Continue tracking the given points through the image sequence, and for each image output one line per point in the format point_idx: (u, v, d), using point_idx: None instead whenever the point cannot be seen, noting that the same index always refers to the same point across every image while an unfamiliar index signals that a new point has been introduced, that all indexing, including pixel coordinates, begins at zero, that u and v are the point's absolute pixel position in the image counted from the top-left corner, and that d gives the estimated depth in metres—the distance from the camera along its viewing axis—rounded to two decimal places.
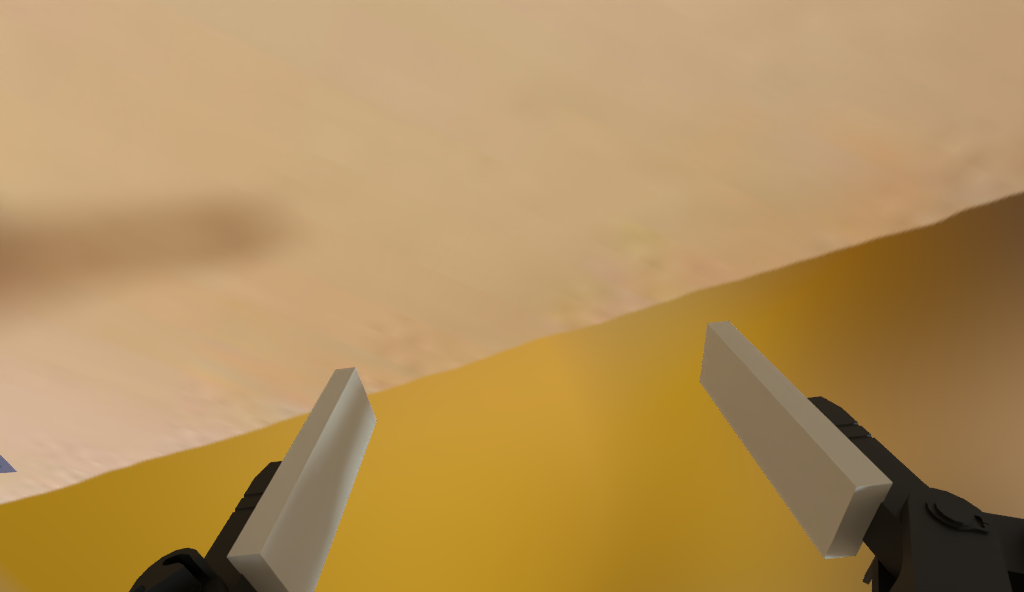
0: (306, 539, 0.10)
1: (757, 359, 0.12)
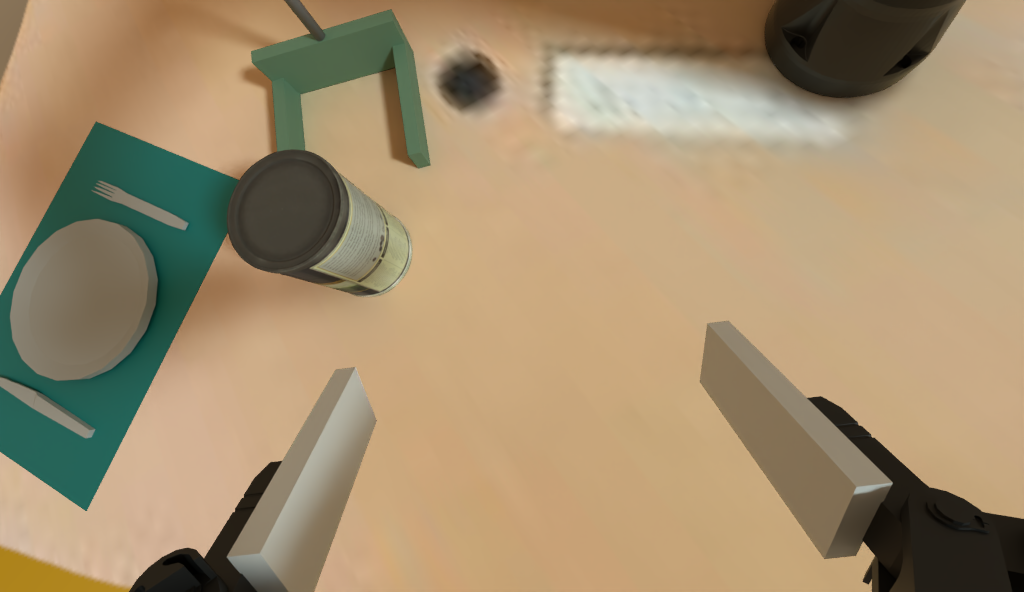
0: (306, 539, 0.10)
1: (757, 359, 0.12)
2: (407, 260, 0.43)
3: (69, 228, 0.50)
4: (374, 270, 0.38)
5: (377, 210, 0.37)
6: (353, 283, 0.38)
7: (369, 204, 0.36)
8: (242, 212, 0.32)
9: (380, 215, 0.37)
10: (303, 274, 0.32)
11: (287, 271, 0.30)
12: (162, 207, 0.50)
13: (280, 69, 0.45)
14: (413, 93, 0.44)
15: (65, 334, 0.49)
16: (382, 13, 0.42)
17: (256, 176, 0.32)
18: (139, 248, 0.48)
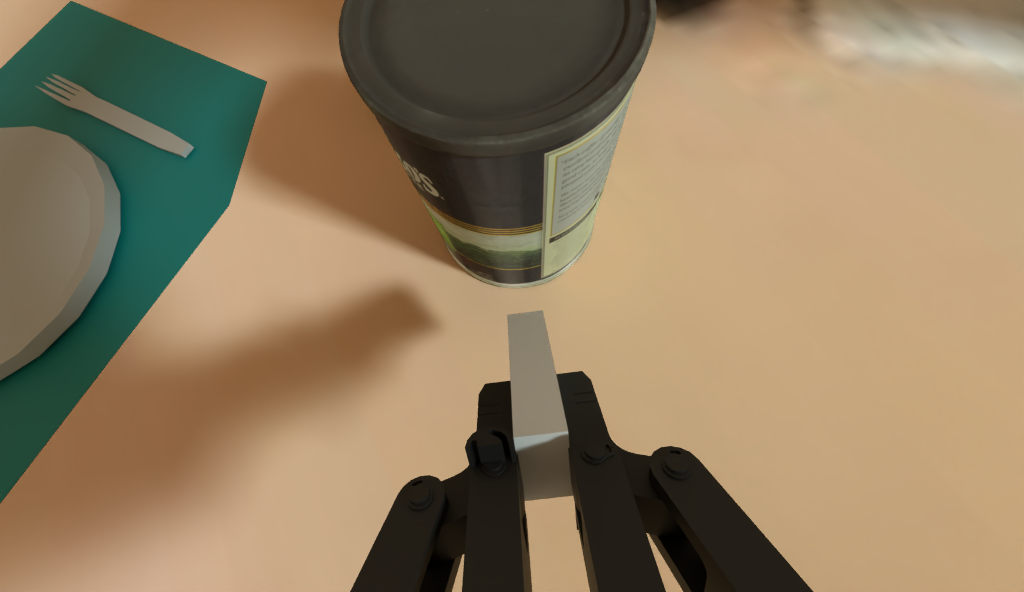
0: None
1: (541, 341, 0.14)
2: None
3: None
4: (580, 224, 0.19)
5: None
6: (539, 243, 0.18)
7: None
8: (381, 13, 0.13)
9: None
10: (510, 177, 0.13)
11: (503, 145, 0.11)
12: (152, 121, 0.31)
13: None
14: None
15: None
16: None
17: None
18: (98, 176, 0.28)
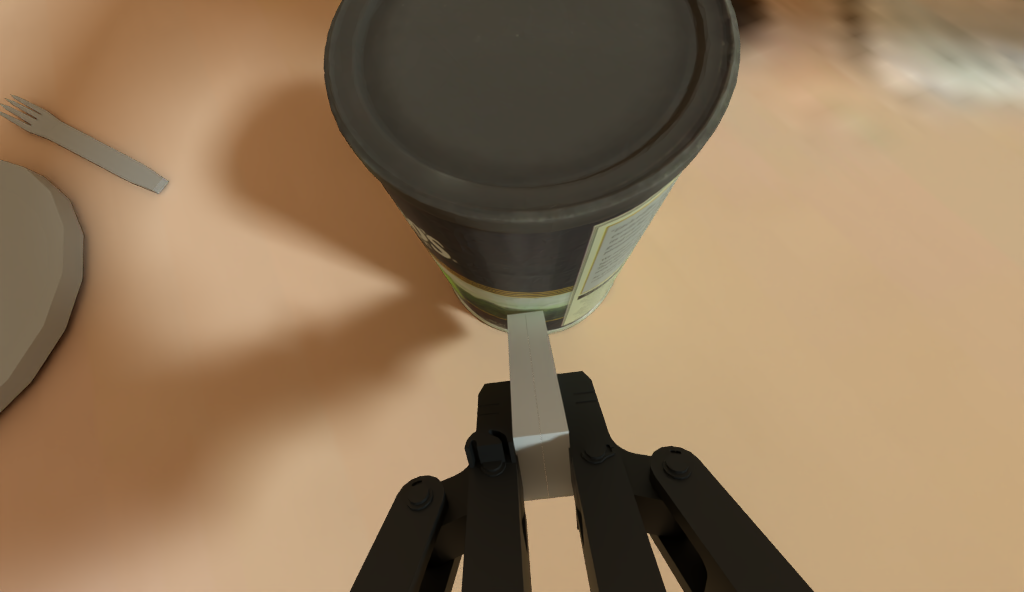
0: None
1: (541, 341, 0.14)
2: None
3: None
4: (612, 276, 0.16)
5: None
6: (567, 301, 0.16)
7: None
8: (380, 38, 0.10)
9: None
10: (545, 250, 0.10)
11: (544, 223, 0.08)
12: None
13: None
14: None
15: None
16: None
17: None
18: (57, 215, 0.24)
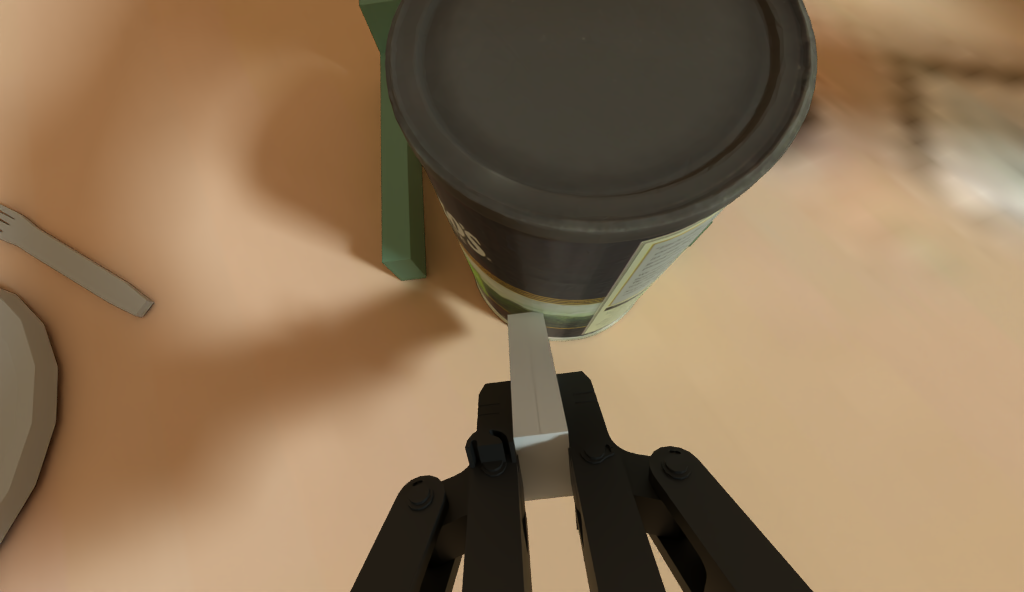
0: None
1: (541, 341, 0.14)
2: None
3: None
4: (643, 291, 0.16)
5: None
6: (594, 311, 0.15)
7: None
8: (443, 28, 0.10)
9: None
10: (586, 260, 0.10)
11: (593, 234, 0.08)
12: None
13: None
14: None
15: None
16: None
17: None
18: (28, 350, 0.22)
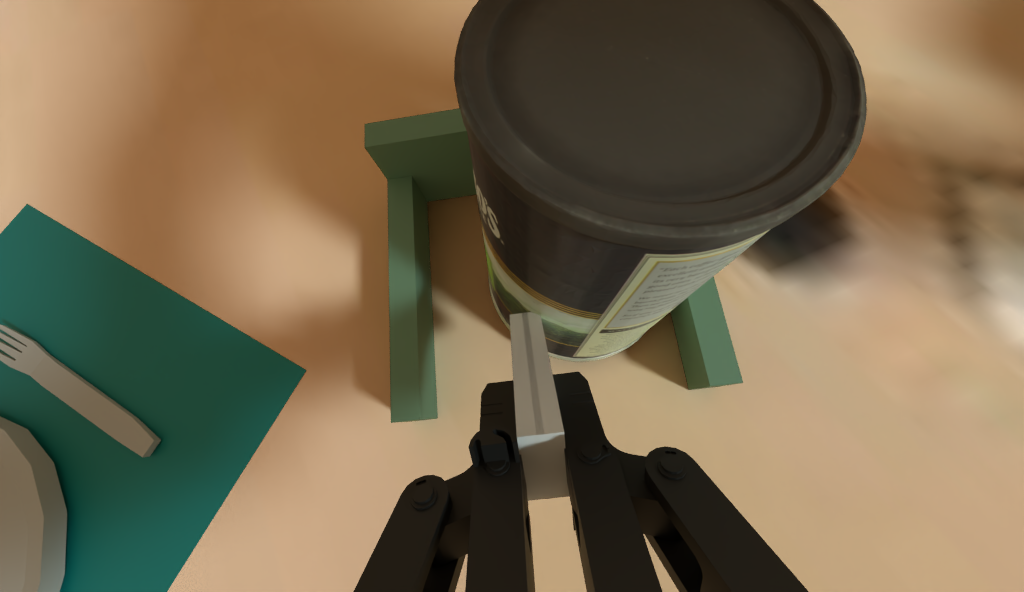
0: None
1: (538, 342, 0.14)
2: None
3: None
4: (642, 326, 0.16)
5: None
6: (588, 329, 0.15)
7: None
8: (524, 16, 0.11)
9: None
10: (590, 260, 0.10)
11: (600, 227, 0.08)
12: (112, 393, 0.24)
13: (414, 162, 0.22)
14: None
15: None
16: None
17: None
18: (37, 498, 0.22)
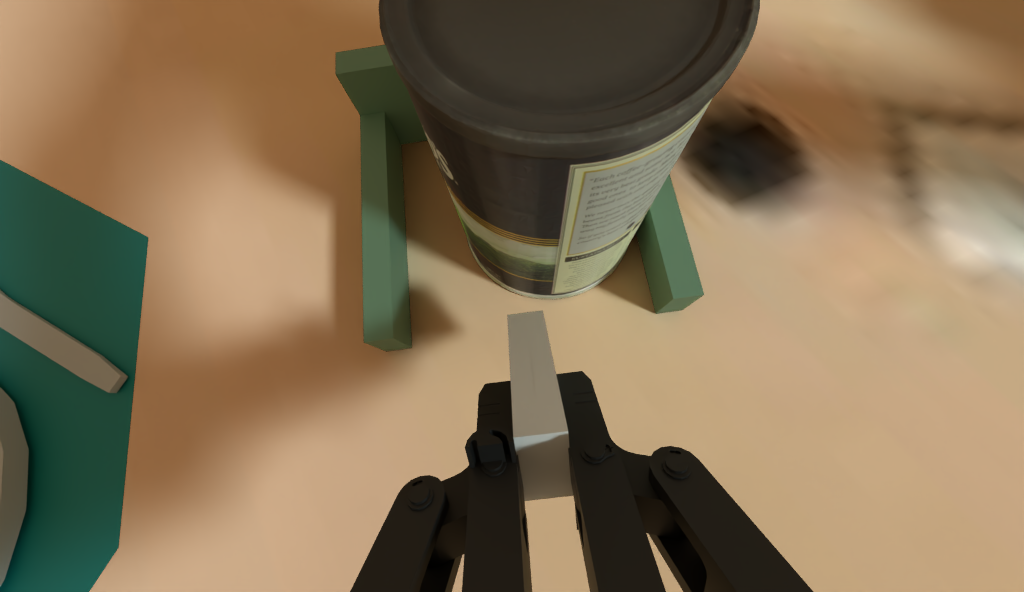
0: None
1: (541, 341, 0.14)
2: (621, 257, 0.22)
3: None
4: (604, 250, 0.17)
5: None
6: (554, 259, 0.17)
7: None
8: None
9: None
10: (527, 181, 0.11)
11: (521, 143, 0.09)
12: (76, 333, 0.24)
13: (386, 95, 0.22)
14: None
15: None
16: None
17: None
18: None
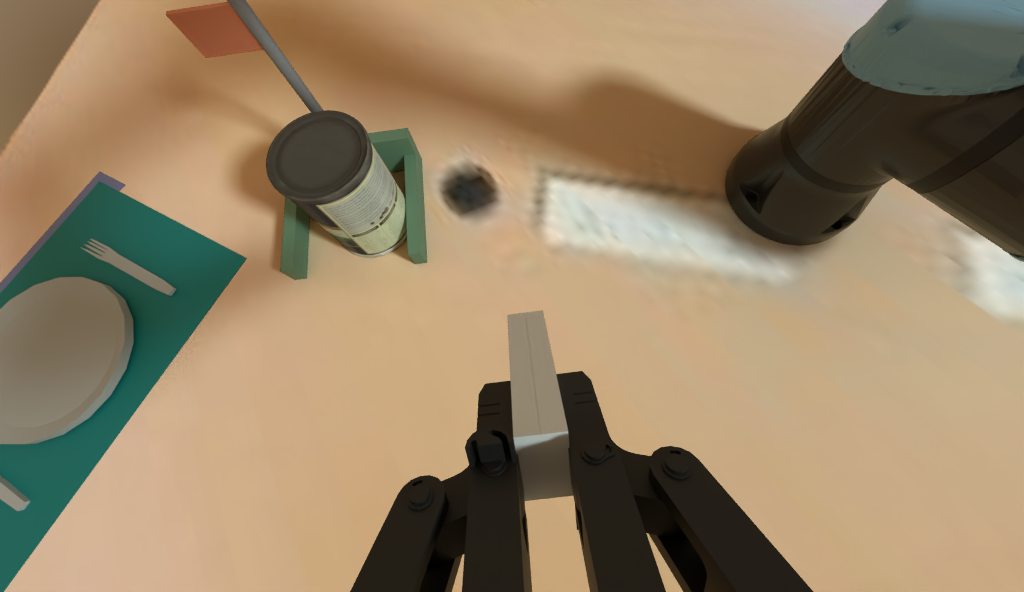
0: None
1: (541, 341, 0.14)
2: (401, 238, 0.49)
3: (49, 283, 0.50)
4: (369, 233, 0.44)
5: (392, 186, 0.44)
6: (347, 235, 0.44)
7: (387, 179, 0.42)
8: (286, 143, 0.38)
9: (392, 191, 0.44)
10: (309, 208, 0.38)
11: (297, 200, 0.36)
12: (151, 270, 0.51)
13: None
14: (418, 198, 0.49)
15: (19, 392, 0.47)
16: (399, 130, 0.48)
17: (309, 122, 0.39)
18: (120, 310, 0.48)
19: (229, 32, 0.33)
